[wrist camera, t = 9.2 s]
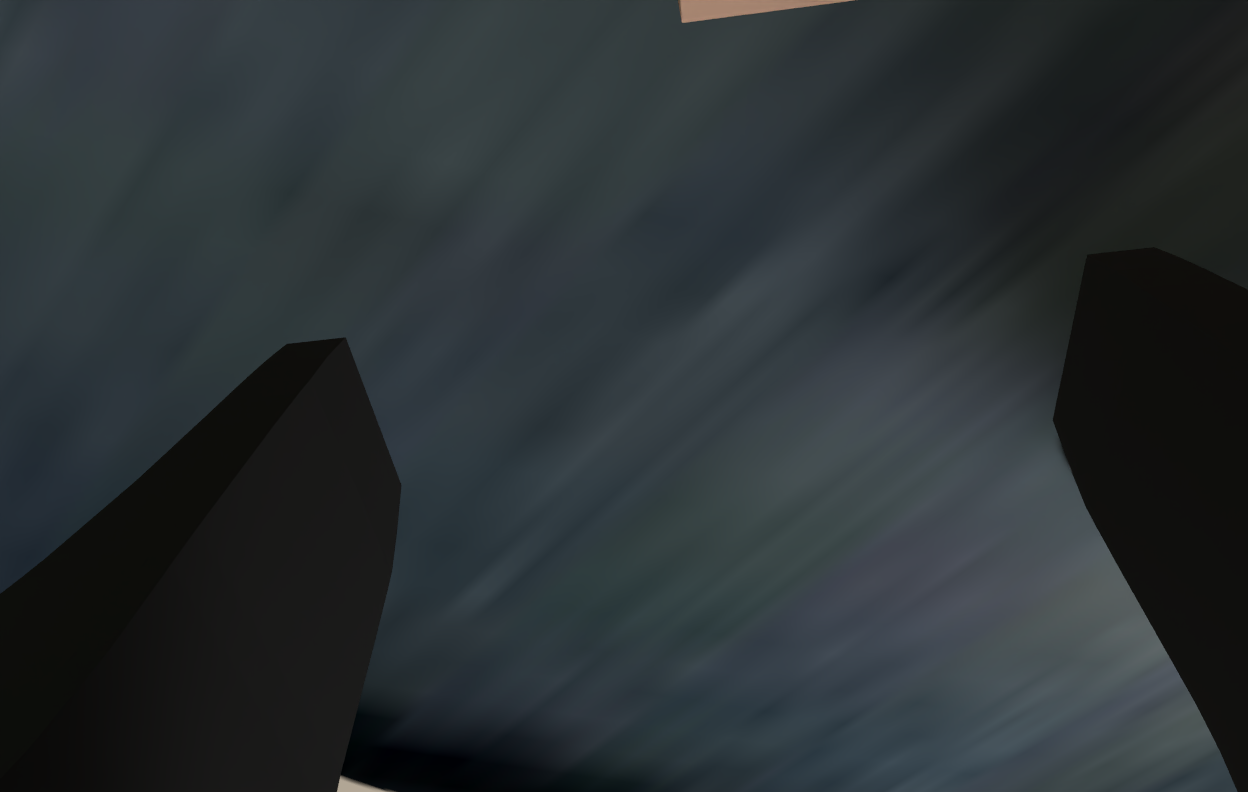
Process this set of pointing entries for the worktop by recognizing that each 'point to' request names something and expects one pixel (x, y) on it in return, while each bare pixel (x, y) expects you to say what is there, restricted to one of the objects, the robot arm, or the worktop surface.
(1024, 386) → the worktop surface
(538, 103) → the worktop surface
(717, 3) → the tan flat notched board
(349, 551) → the robot arm
